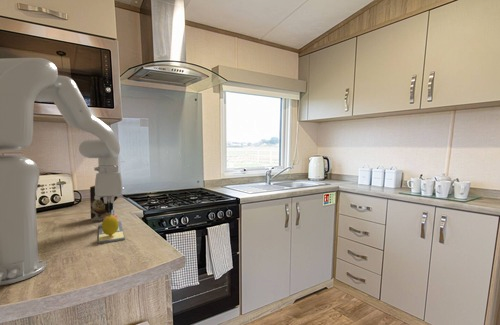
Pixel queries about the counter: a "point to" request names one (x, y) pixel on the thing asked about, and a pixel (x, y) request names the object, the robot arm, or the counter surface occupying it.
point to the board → (115, 237)
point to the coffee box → (99, 207)
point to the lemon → (110, 225)
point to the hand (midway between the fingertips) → (109, 211)
